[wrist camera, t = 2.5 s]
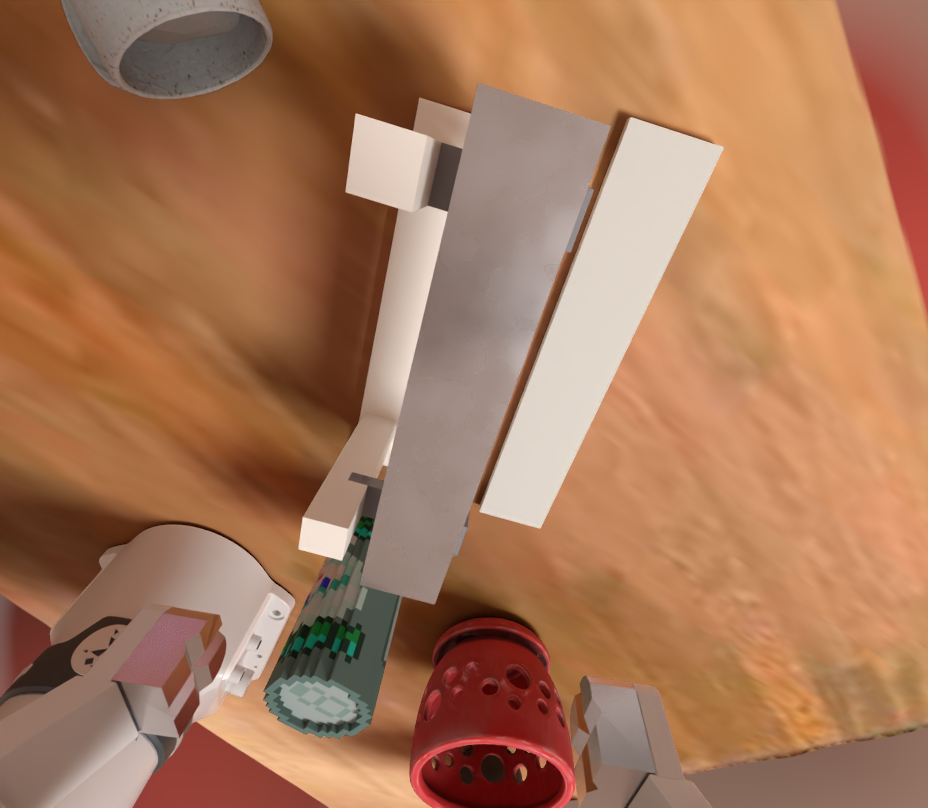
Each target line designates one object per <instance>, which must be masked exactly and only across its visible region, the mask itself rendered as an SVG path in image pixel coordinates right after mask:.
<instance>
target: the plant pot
mask: <svg viewBox="0 0 928 808" xmlns="http://www.w3.org/2000/svg"><path fill="white" fill-rule="evenodd" d="M432 664H433V668H434V671H433V673H432V675H431V677H430V679H429V682H428V684H427V686H426V689H425V691H424V694H423V698H422V701H421V704H420V708H419V712H418V716H417V720H416V725H415V731H414V736H413V743H412V750H411V760H410V774H409V775H410V782H411V785H412V788H413V789H414V791H415V793H416V794H417V795H418V796H419V797H420V798H421V799H422V801H424V802H425V803H426V804H428V805H429V806H431V807H432V808H562V807H563V806H565V805H566V804H567V803H568V802H569V800H570V799H571V797H572V795H573V793H574V790H575V784H576V780H575V771H574V763H573V755H572V748H571V742H570V737H569V732H568V727H567V723H566V719H565V715H564V712H563V708H562V705H561V701H560V698H559V696H558V693H557V690H556V688H555V685H554V683H553V681H552V679H551V677H550V675H549V671H550V657H549V654H548V651H547V649H546V647H545V645H544V644H543V642H542V641H541V640H540V639H539V638H538V637H537V636H536V635H535V634H534V633H533V632H532V631H530V630H529V629H527V628H526V627H524V626H522V625H520V624H518V623H515V622H513V621H509V620H506V619H501V618H491V617H487V618H476V619H470V620H467V621H464V622H461V623H459V624H457V625H455V626H453V627H451V628H450V629H449V630H447V631H446V632H445V633H444V634H443V635H442V636H441V637H440V638H439V640H438V642H437V643H436V645H435V647H434V650H433V655H432ZM431 717H432V718H431ZM465 745H472V748H473V750H472V754H471V755H470V756H465V755H464V754H463V753H462V751H461V746H465ZM508 746H510V747H514V748H516V751H515V753H513V754H509V753H508V751H507V747H508ZM527 751H528V752H531V753H528V752H527ZM446 754H449V756H450V757H451V760H452V763H451V766H447V765H446V763H445V755H446ZM487 755H495V756H497V757H498V758H500V760H501V761H502V763H503V767H504V773H503V776H502V778H501V779H500V780H499V781H497V782H490V781H488V780H487V779H486V778H485V777H484V775H483V773H482V770H481V763H482V760H483V759H484V758H485V757H486V756H487ZM432 757H434V759H435V763H436V764H435V769H433V767H432V764H431V759H432ZM540 757H542V758H544V759H546V760H547V761H546V765H545V766H544V768H541V767H540V763H539V760H540ZM463 766H466V767H468V768H469V769H470V770H471V773H472V781H471V782H470V783H468V784H467V783H464V782H463V781H462V780H461V778H460V770H461V768H462V767H463ZM521 766H525V767H526V769H527V777H526V779H525V780H524V781H523V782H517V781H516V777H515V775H516V771H517V769H518V768H519V767H521Z"/></svg>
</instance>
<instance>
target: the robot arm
mask: <svg viewBox="0 0 928 808" xmlns="http://www.w3.org/2000/svg"><path fill="white" fill-rule="evenodd" d="M99 563H100V566H101V568H102V570H101V571H100V573H99V574H98V575H97V576H96V577H95V578H94V579H93V581H92V582H91V583H90V584H89V585H88V586H87V587H86V588H85V590H84V591H83V592H82V593H81V594H80V595H79V596H78V598H77V599H76V600H75V601H74V602H73V603H72V605H71V606H70V607H69V608H68V609H67V610H66V611H65V613H64V614H63V615H62V616H61V617H60V618H59V620H58V621H57V622H56V623H55V624H54V626H53V627H52V629H51V631H50V635H51V644H52V646H50V647H49V648H47V649H46V650H44V651H43V652H42V654H40V656H39V657H38V658H37V659H36V660H35V661H34V662H33V663H32V664H30V665H29V667H26V668H25V669H24V670H23V671H22V672H21V673H20V674H19V676H18V677H17V678H16V679H15V680H14V682H13V684H12V685H11V686H10V688H9V689H8V690H7V691H6V692H5V693H4V694H3V695H2V697H1V698H0V808H132V807H133V805H134V804H135V802H136V800H137V798H138V797H139V795H140V793H141V791H142V790H143V788H144V786H145V785H146V783H147V781H148V779H149V778H150V777H151V774H153V773H155V772H156V771H158V770H159V769H160V768H161V767H162V766H163V765H164V763H165V762H166V760H167V759H168V758H169V757H170V756H171V755H172V754H173V753H174V751H175V750H176V749H177V747H178V746H179V744H180V743H181V740H182V738H183V736H184V735H185V734H186V732H187V731H188V730H189V728H190V726H191V724H192V723H193V722H196V721H198V720H200V719H202V718H205V717H208V716H210V715H212V714H214V713H216V712H217V711H218V710H219V708H220V707H221V705H222V703H223V701H224V700H225V698H226V696H227V694H228V692H230V693H229V694H232V695H235V696H238V697H243V696H244V694H245V692H246V690H247V688H248V686H249V684H250V682H251V680H256V679H258V678H259V676H260V675H261V673H262V671H263V670H264V668H265V666H266V664H267V662H268V660H269V658H270V656H271V653H272V651H273V649H274V647H275V645H276V643H277V641H278V639H279V637H280V635H281V632H282V630H283V628H284V626H285V624H286V622H287V620H288V618H289V616H290V614H291V612H292V609H293V607H294V605H295V600H294V598H293V597H292V596H291V595H290V594H289V593H288V592H287V591H285V590H284V589H283V588H281V587H280V586H278V585H277V584H275V583H274V582H273V581H272V580H271V579H270V577H269V576H268V575H267V573H266V572H265V571H264V569H263V568H262V567H261V565H260V564H259V563H258V562H257V561H256V560H255V559H254V558H253V557H252V556H251V555H250V554H249V553H247V552H246V551H245V550H244V549H242V548H241V547H239V546H238V545H236V544H235V543H233V542H232V541H230V540H228V539H226V538H224V537H222V536H220V535H218V534H215V533H213V532H210V531H207V530H204V529H200V528H196V527H192V526H186V525H160V526H155V527H152V528H149V529H147V530H145V531H143V532H141V533H140V534H138V535H137V536H136V537H135V538H134V539H133V540H132V541H131V542H129V543H127V544H125V545H119V546H115V547H111V548H109V549H107V550H106V551H105V552H104V554H103V555H102V556H101V557H100V559H99ZM580 689H581V693H579V694H577V695H575V697H574V700H573V703H572V706H571V715H570V731H571V742H572V745H573V747H574V748H575V750H576V751H577V753H578V754H579V756H580V757H579V760H578V762H577V764H576V766H575V768H574V771H575V780H576V789H577V798H578V807H579V808H712V807H711V805H710V804H709V803H708V801H707V800H706V799H705V797H704V796H703V795H702V794H701V792H700V791H699V790H698V788H697V787H696V786H695V784H694V783H693V782H692V781H687V780H685V779H684V775H683V771H682V768H681V765H680V761H679V758H678V754H677V751H676V747H675V744H674V740H673V737H672V733H671V730H670V727H669V723H668V720H667V716H666V713H665V709H664V706H663V702H662V699H661V696H660V693H659V692H658V690H657V689H656V688H655V687H654V686H650V685H643V684H637V683H631V682H627V681H620V680H613V679H607V678H600V677H593V676H584V677H583V678H582V680H581V682H580Z"/></svg>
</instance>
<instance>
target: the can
mask: <svg viewBox="0 0 928 808" xmlns="http://www.w3.org/2000/svg"><path fill="white" fill-rule="evenodd" d="M374 522H375V519H373V518H370V517H366V516H362V515H361V517H360V520H359V522H358V524H357V527H356V529H355V531H354V534H353V536H352V539H351V541H350V543H349V546H348V548H347V550H346V553H345V555H344V557H343V560H342V561H341V560H337V559H334V558H330V557H326V560H325V562H324V564H323V566H322V568H321V570H320V572H319V574H318V577H317V579H316V581H315V583H314V585H313V587H312V589H311V591H310V594H309V596H308V598H307V600H306V602H305V604H304V606H303V608H302V611H301V613H300V615H299V617H298V619H297V621H296V623H295V625H294V628H293V630H292V632H291V634H290V636H289V638H288V640H287V643H286V645H285V647H284V649H283V651H282V653H281V655H280V657H279V660H278V662H277V664H276V666H275V668H274V670H273V672H272V674H271V677H270V679H269V681H268V683H267V685H266V687H265V689H264V691H263V692H265V693H266V695H265V697H264V699H263V700H264V701H266V702H267V705H266V706H267V707H269V708H270V710H269V712H270V713H272V714H274V715H276V716H278V719H277V720H278V721H280V722H282V723H284V724H286V725H288V726H290V727H292V728H294V729H296V730H298V731H300V732H302V733H304V734H308V733H309V732H310V733H312V734H314V735H316V736H318V737H320V738H321V737H323V736H326V737H328V738H331V737H333V736H334V737H336V738H338V739H339V738H341V737H342V736H344V735H345V734H346V735H348V736H350V737H352V736H354V735H356V734H357V733H359V732H360V731H362V730H363V729H365V728H366V727H368V726H369V725H371V721H372V717H373V713H374V709H375V705H376V701H377V697H378V693H379V689H380V685H381V681H382V677H383V673H384V669H385V665H386V661H387V657H388V653H389V649H390V644H391V640H392V636H393V632H394V628H395V624H396V620H397V616H398V612H399V608H400V604H401V600H402V596H399V595H396V594H392V593H388V592H384V591H380V590H376V589H373V588H369V587H365V586H361V585H360V581H361V577H362V573H363V568H364V564H365V560H366V556H367V552H368V547H369V543H370V539H371V535H372V530H373V526H374Z"/></svg>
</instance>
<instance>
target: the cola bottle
mask: <svg viewBox="0 0 928 808" xmlns="http://www.w3.org/2000/svg"><path fill="white" fill-rule="evenodd" d="M472 750H473V748H472V749H470V750H468V751H466V752H465V753H464V755H465V756H470V755H471V754H472ZM481 770H482V773H483V775H484V777H485V778H486V779H487V780H488V781H490V782H497V781H499V780H500V779H501V778H502V776H503V773H504V767H503V763H502V761H501V760H500V758H498V757H497V756H495V755H487V756H486V757H485V758H484V759H483V760H482V763H481ZM515 777H516V781H517V782H523V780H522V775H521V771H520V768H518V769H517V771H516V775H515ZM460 778H461V780H462V781H463V782H464V783H467V784H468V783H470V782H471V781H472V773H471V770H470V769H469V768H468V767H466V766H463V767H462V768H461V770H460Z"/></svg>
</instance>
